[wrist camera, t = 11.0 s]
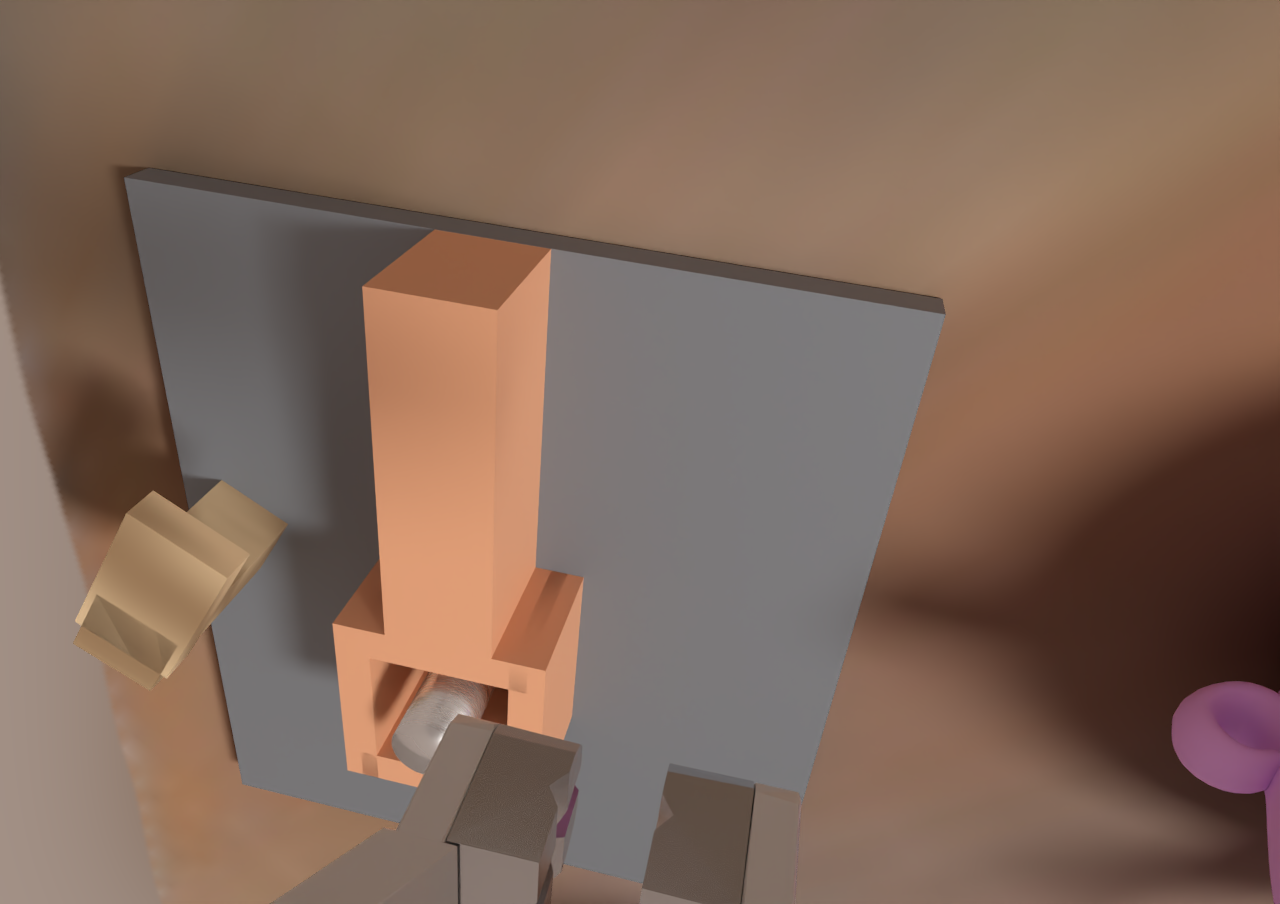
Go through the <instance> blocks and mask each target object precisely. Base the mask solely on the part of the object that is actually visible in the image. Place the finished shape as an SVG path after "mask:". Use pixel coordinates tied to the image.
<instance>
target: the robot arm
mask: <svg viewBox="0 0 1280 904" xmlns="http://www.w3.org/2000/svg"><path fill="white" fill-rule="evenodd" d="M581 761H582V745H581V744H577V743H574V742H570V741H566V740H562V739H558V738H554V737H550V736H546V735H543V734H539V733H535V732H531V731H527V730H523V729H519V728H515V727H512V726H508V725H504V724H499V723H495V722H491V721H487V720H483V719H479V718H475V717H470V716H466V715H462V714H458V715H457V716H456V717H455V718H454V719H453V720H452V721H451V722H450V724H449V725H448V727H447V729H446V731H445V733H444V735H443V737H442V739H441V741H440V743H439V745H438V747H437V749H436V751H435V753H434V755H433V757H432V759H431V761H430V763H429V765H428V767H427V769H426V771H425V773H424V775H423V777H422V779H421V781H420V783H419V785H418V787H417V789H416V791H415V793H414V795H413V797H412V799H411V801H410V803H409V805H408V807H407V809H406V811H405V813H404V815H403V817H402V819H401V821H400V823H399V825H398V827H397V829H396V830H392V829H388V828H382V829H381V830H379V831H378V832H376V833H375V834H373V835H372V836H370V837H369V838H367V839H366V840H364V841H363V842H361V843H360V844H358V845H357V846H355V847H354V848H352V849H351V850H349V851H348V852H346V853H345V854H343V855H342V856H340V857H339V858H337V859H336V860H334V861H333V862H331V863H330V864H328V865H327V866H325V867H324V868H322V869H321V870H319V871H318V872H316V873H315V874H314V875H312V876H311V877H309V878H308V879H306V880H305V881H303V882H302V883H300V884H299V885H297V886H296V887H294V888H293V889H291V890H290V891H288V892H287V893H285V894H284V895H282V896H281V897H279V898H278V899H276V900H275V901H273V902H272V903H270V904H551V894H552V883H553V878H554V877H556V876H557V875H558V874H560V873H561V871H562V868H563V864H564V861H565V858H566V854H567V851H568V847H569V843H570V839H571V835H572V830H573V826H574V822H575V816H576V810H577V803H578V794H579V790H578V788H577V787H576V786H575V783H576V780H577V777H578V774H579V770H580V767H581ZM800 814H801V799H800V795H799V792H794V791H790V790H786V789H781V788H777V787H773V786H768V785H764V784H760V783H755V784H754V781H750V780H746V779H741V778H737V777H732V776H727V775H723V774H718V773H713V772H709V771H704V770H699V769H695V768H690V767H685V766H681V765H676V764H672V763H670V764H669V767H668V771H667V775H666V780H665V784H664V788H663V793H662V798H661V804H660V809H659V815H658V820H657V826H656V829H655V830H654V834H653V839H652V843H651V848H650V853H649V858H648V862H647V867H646V872H645V876H644V881H643V886H642V891H641V897H640V903H639V904H795V895H796V879H797V863H798V847H799V830H800Z"/></svg>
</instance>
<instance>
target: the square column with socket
mask: <svg viewBox="0 0 1280 904" xmlns="http://www.w3.org/2000/svg"><path fill="white" fill-rule="evenodd" d="M550 263H551V249H549V248H543V247H537V246H531V245H525V244H519V243H513V242H507V241H501V240H495V239H489V238H483V237H477V236H471V235H465V234H459V233H453V232H447V231H441V230H433V231H432V232H431V233H430V234H428V235H427V236H426V237H425V238H423V239H422V240H421V241H419V242H418V243H417V244H416V245H414V246H413V247H412V248H410V249H409V250H408V251H407V252H405V253H404V254H403V255H402V256H400V257H399V258H398V259H396V260H395V261H394V262H393V263H391V264H390V265H389V266H387V267H386V268H385V269H384V270H382V271H381V272H380V273H379V274H377V275H376V276H375V277H373V278H372V279H371V280H370V281H368V282H367V283H366V284H365V285H363V286H362V290H363V306H364V321H365V337H366V353H367V368H368V384H369V399H370V415H371V431H372V446H373V462H374V477H375V493H376V509H377V524H378V540H379V555H380V559H379V560H378V561H377V563H376V564H375V565H374V567H373V568H372V570H371V571H370V572H369V574H368V575H367V576H366V578H365V579H364V581H363V582H362V583H361V585H360V586H359V587H358V589H357V590H356V592H355V593H354V594H353V596H352V597H351V598H350V600H349V601H348V603H347V604H346V605H345V607H344V608H343V609H342V611H341V612H340V614H339V615H338V616H337V618H336V619H335V621H334V622H333V623H332V624H333V634H334V644H335V653H336V663H337V673H338V682H339V692H340V702H341V711H342V721H343V731H344V741H345V750H346V760H347V770H348V771H352V772H357V773H361V774H365V775H369V776H373V777H377V778H381V779H385V780H389V781H394V782H398V783H402V784H406V785H410V786H414V787H418V785H419V783H420V781H421V779H422V777H423V774H420V773H418V772H416V771H413V770H412V769H410V768H409V767H407V766H406V765H404V764H403V763H402V762H401V761H400V760H399V759H398V757H397V756H396V755H395V753H394V751H393V748H392V737H393V734H394V733H395V731H396V729H397V727H398V726H399V724H400V722H401V720H402V718H403V717H404V715H405V713H406V711H407V709H408V708H409V706H410V704H411V702H412V700H413V699H414V697H415V695H416V693H417V691H418V690H419V688H420V686H421V684H422V682H423V681H424V679H425V677H426V675H427V673H428V672H433V673H437V674H441V675H446V676H450V677H455V678H459V679H463V680H468V681H472V682H477V683H481V684H485V685H490V686H494V687H495V689H494V692H493V694H492V696H491V698H490V700H489V702H488V705H487V707H486V709H485V711H484V713H483V715H482V718H481V719H483V720H487V721H491V722H495V723H499V724H504V725H508V726H512V727H515V728H519V729H523V730H527V731H531V732H535V733H539V734H543V735H546V736H550V737H554V738H558V739H562V740H564V738H565V735H566V732H567V729H568V726H569V723H570V720H571V718H572V710H573V698H574V686H575V674H576V663H577V651H578V639H579V627H580V616H581V604H582V592H583V580H584V577H580V576H575V575H570V574H565V573H560V572H556V571H551V570H546V569H541V568H537V567H536V548H537V528H538V507H539V487H540V467H541V446H542V426H543V406H544V385H545V365H546V345H547V324H548V304H549V284H550Z"/></svg>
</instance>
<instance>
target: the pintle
mask: <svg viewBox="0 0 1280 904" xmlns="http://www.w3.org/2000/svg"><path fill="white" fill-rule="evenodd" d="M494 689H495V687H494V686H490V685H485V684H481V683H477V682H472V681H468V680H463V679H459V678H455V677H450V676H446V675H441V674H437V673H433V672H428V673H427V675H426V677H425V679H424V681H423V682H422V684H421V686H420V688H419V690H418V691H417V693H416V695H415V697H414V699H413V700H412V702H411V704H410V706H409V708H408V709H407V711H406V713H405V715H404V717H403V718H402V720H401V722H400V724H399V726H398V727H397V729H396V731H395V733H394V734H393V737H392V748H393V751H394V753H395V755H396V756H397V757H398V759H399V760H400V761H401V762H402V763H403V764H404V765H406V766H407V767H409V768H410V769H412V770H413V771H416V772H418V773H420V774H423V775H424V773H425V771H426V769H427V767H428V765H429V763H430V761H431V759H432V757H433V755H434V753H435V751H436V749H437V747H438V745H439V743H440V741H441V739H442V737H443V735H444V733H445V731H446V729H447V727H448V725H449V724H450V722H451V721H452V720H453V719H454V718H455V717H456V716H457V715H458V714H462V715H466V716H470V717H475V718H479V719H481V718H482V715H483V713H484V711H485V709H486V707H487V705H488V702H489V700H490V698H491V696H492V694H493V692H494Z"/></svg>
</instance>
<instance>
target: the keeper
mask: <svg viewBox="0 0 1280 904" xmlns="http://www.w3.org/2000/svg"><path fill="white" fill-rule="evenodd" d="M287 525H288V524H287V523H286V522H284V521H283V520H281V519H280V518H278V517H277V516H275V515H274V514H272V513H271V512H269V511H268V510H266V509H265V508H263V507H262V506H260V505H259V504H257V503H256V502H254V501H253V500H251V499H250V498H248V497H247V496H245V495H244V494H242V493H241V492H239V491H238V490H236V489H235V488H233V487H232V486H230V485H229V484H227V483H226V482H224V481H223V480H221V481H220V482H219V483H218V484H217V485H216V486H215V487H213V488H212V489H211V490H210V491H209V492H208V493H207V494H206V495H205V496H204V497H203V498H201V499H200V500H199V501H198V502H197V503H196V504H195V505H194V506H193V507H192V508H190V509H189V510H188V511H187V512H185V511H184V510H182V509H181V508H179V507H178V506H176V505H175V504H173V503H171V502H170V501H168V500H167V499H165V498H164V497H162V496H161V495H159V494H158V493H156V492H155V491H152V492H151V493H149V494H148V495H147V496H146V497H145V498H143V499H142V500H141V501H140V502H139V503H138V504H136V505H135V506H134V507H133V508H132V509H130V510H129V511H128V512H127V513H126V515H125V517H124V519H123V521H122V523H121V525H120V527H119V530H118V532H117V534H116V536H115V538H114V540H113V542H112V544H111V546H110V548H109V551H108V553H107V555H106V557H105V559H104V561H103V563H102V565H101V567H100V570H99V572H98V574H97V576H96V578H95V580H94V582H93V584H92V586H91V588H90V591H89V593H88V595H87V597H86V599H85V601H84V603H83V605H82V607H81V610H80V612H79V614H78V616H77V618H76V620H75V622H77V623H78V624H80V625H81V628H80V630H79V632H78V634H77V636H76V638H75V640H74V642H73V644H75V645H76V646H78V647H79V648H81V649H83V650H84V651H86V652H88V653H89V654H91V655H92V656H94V657H96V658H97V659H99V660H101V661H102V662H104V663H105V664H107V665H109V666H110V667H112V668H114V669H115V670H117V671H118V672H120V673H122V674H123V675H125V676H126V677H128V678H130V679H131V680H133V681H135V682H136V683H138V684H139V685H141V686H143V687H144V688H146V689H148V690H149V691H151V690H152V689H153V688H154V687H155V686H156V685H157V684H158V682H159V681H160V680H161V679H162V678H163V677H165V678H168V677H169V676H170V675H171V673H172V672H173V671H174V670H175V669H176V668H177V667H178V666H179V664H180V663H181V662H182V661H183V660H184V659H185V658H186V657H187V655H188V654H189V653H190V651H191V650H192V648H193V647H194V645H195V643H196V642H197V640H198V638H199V637H200V635H201V634H202V633H203V632H204V631H205V630H206V629H207V628H208V626H209V625H210V624H211V623H212V622H213V621H214V620H215V619H216V617H217V616H218V615H219V614H220V613H221V612H222V611H223V610H224V608H225V607H226V606H227V605H228V604H229V603H230V602H231V601H232V599H233V598H234V597H235V596H236V595H237V594H238V593H239V592H240V591H241V589H242V588H243V587H244V586H245V585H246V584H247V583H248V582H249V580H250V579H251V578H252V577H253V576H254V575H255V574H256V573H257V571H258V570H259V569H260V568H261V567H262V565H263V563H264V562H265V560H266V559H267V557H268V555H269V554H270V552H271V551H272V549H273V548H274V546H275V544H276V543H277V541H278V540H279V538H280V536H281V535H282V533H283V532H284V530H285V528H286V527H287Z"/></svg>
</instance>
